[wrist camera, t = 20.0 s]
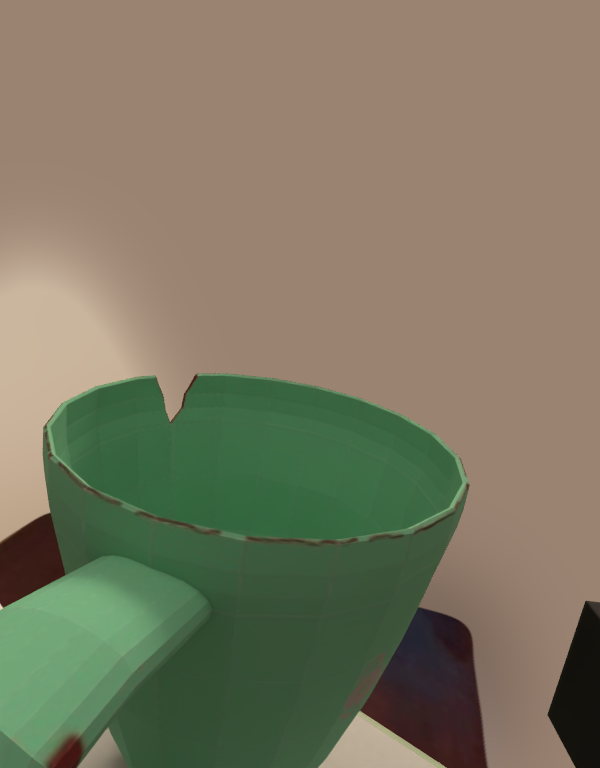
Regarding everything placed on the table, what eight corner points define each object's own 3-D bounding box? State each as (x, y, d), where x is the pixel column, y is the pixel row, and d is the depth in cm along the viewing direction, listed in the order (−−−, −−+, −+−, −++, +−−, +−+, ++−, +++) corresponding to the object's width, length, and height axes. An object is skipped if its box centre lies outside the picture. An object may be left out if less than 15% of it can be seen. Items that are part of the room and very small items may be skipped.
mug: (162, 598, 22) (185, 355, 19) (407, 687, 19) (472, 421, 17) (-359, 1157, 8) (-525, 591, 6) (235, 1700, 6) (441, 1135, 3)
